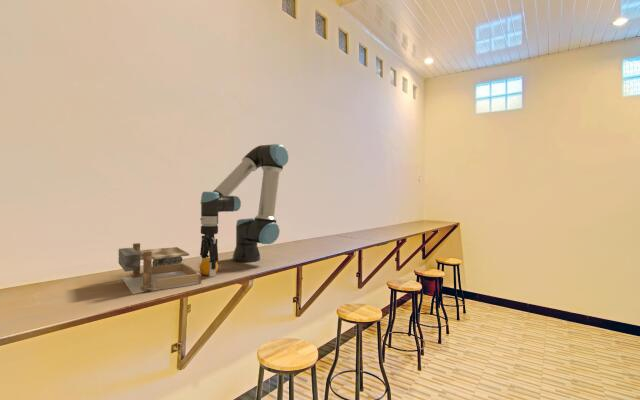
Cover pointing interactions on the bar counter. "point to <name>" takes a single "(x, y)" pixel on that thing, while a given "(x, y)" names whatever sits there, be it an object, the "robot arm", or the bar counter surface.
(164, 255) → the trapdoor
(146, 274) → the gallows posts
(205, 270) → the orange
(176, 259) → the rock
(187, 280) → the tray
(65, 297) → the bar counter surface
